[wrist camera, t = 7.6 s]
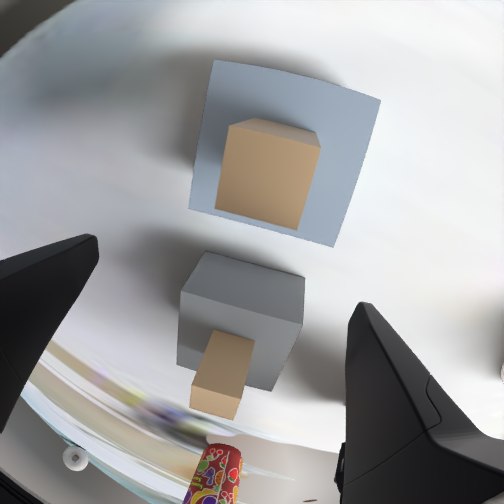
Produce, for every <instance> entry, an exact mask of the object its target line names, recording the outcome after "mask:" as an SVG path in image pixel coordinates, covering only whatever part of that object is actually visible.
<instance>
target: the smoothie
mask: <svg viewBox="0 0 504 504" xmlns="http://www.w3.org/2000/svg"><path fill="white" fill-rule="evenodd" d="M242 462H243V459H242V457H241V453H240V451H239V450H238V449H236V448H234V447H232V446H229V445H225V444H220V443H219V444H217V443H215V444H210V445H209V446H208V448H207V449H205V450H204V451H203V454H202V456H201V459H200V461H199V464H198V466H197V469H196V471H195V474H194V476H193V479H192V481H191V484H190V486H189V489H188V491H187V494H186V496H185V498H184V501H183V503H182V504H236V499H237V493H238V487H239V481H240V475H241V468H242Z"/></svg>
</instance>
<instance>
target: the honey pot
mask: <svg viewBox="0 0 504 504" xmlns="http://www.w3.org/2000/svg"><path fill="white" fill-rule="evenodd" d="M501 379H502V381H503V384H504V363H503V365H502V369H501Z"/></svg>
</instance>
